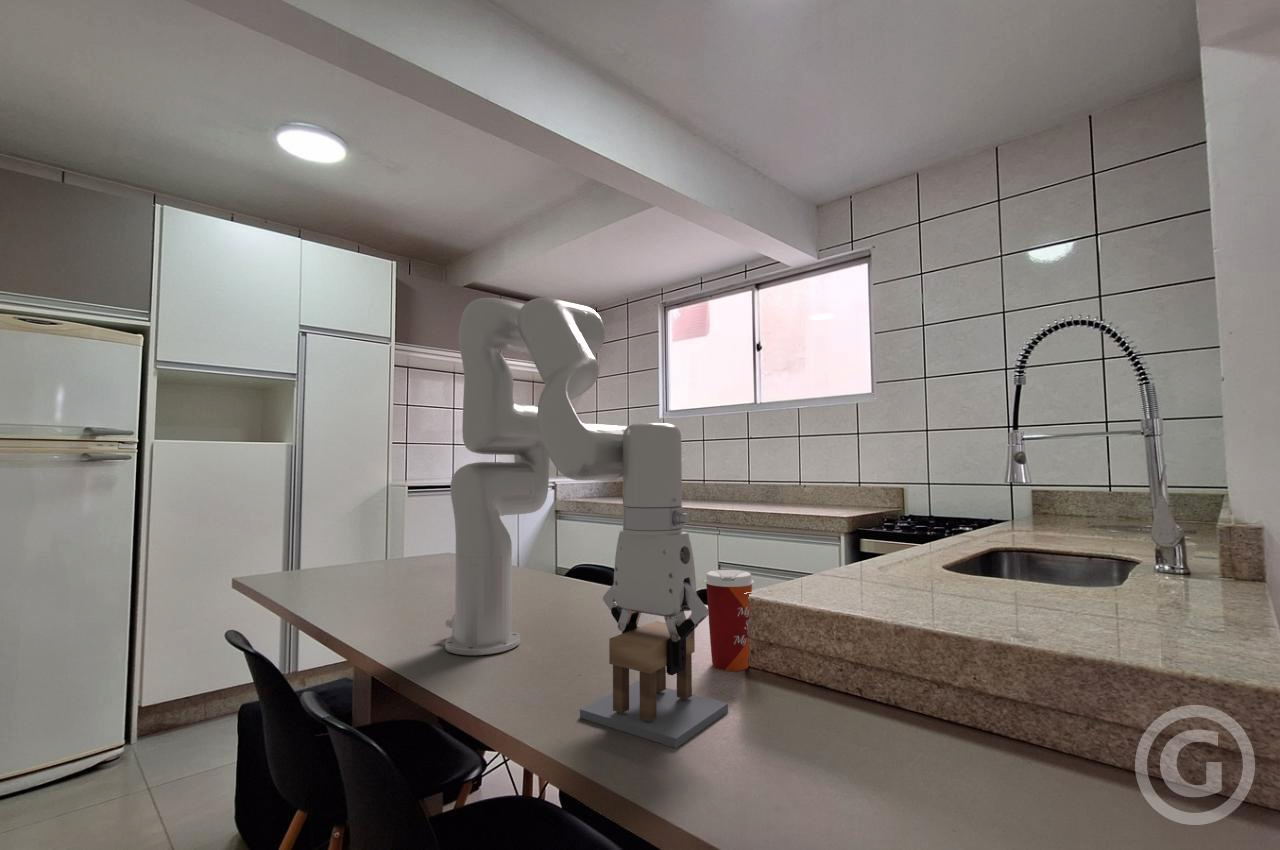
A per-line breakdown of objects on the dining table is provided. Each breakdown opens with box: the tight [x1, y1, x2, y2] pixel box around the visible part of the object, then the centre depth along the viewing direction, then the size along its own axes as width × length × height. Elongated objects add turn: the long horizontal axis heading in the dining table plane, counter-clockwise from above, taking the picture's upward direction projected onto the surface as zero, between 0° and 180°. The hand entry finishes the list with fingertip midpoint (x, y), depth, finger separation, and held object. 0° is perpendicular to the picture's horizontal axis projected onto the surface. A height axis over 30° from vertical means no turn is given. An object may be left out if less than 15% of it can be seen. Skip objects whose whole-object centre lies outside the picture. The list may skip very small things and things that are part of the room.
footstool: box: [608, 620, 696, 722], centre depth 75 cm, size 10×6×8 cm, turn 144°
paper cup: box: [703, 569, 755, 672], centre depth 93 cm, size 8×8×14 cm
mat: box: [579, 680, 729, 749], centre depth 74 cm, size 14×12×1 cm
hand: (653, 665), depth 75 cm, fingers closed on footstool, 5 cm apart
